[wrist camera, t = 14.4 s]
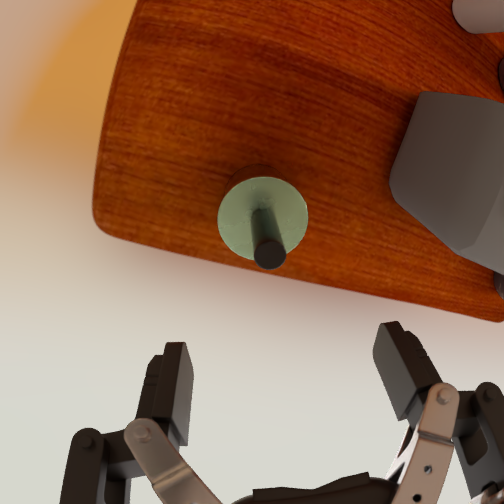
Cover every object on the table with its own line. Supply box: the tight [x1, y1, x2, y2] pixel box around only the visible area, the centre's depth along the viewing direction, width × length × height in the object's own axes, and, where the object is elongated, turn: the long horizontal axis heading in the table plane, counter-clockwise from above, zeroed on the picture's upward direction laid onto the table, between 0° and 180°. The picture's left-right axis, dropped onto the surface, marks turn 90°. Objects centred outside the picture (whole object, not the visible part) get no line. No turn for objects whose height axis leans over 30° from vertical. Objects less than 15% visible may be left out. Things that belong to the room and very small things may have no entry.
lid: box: [217, 175, 308, 270], centre depth 22 cm, size 7×7×7 cm
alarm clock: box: [389, 91, 504, 275], centre depth 21 cm, size 16×11×16 cm
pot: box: [224, 165, 288, 196], centre depth 26 cm, size 6×6×5 cm
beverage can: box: [452, 0, 504, 34], centre depth 13 cm, size 5×5×12 cm
